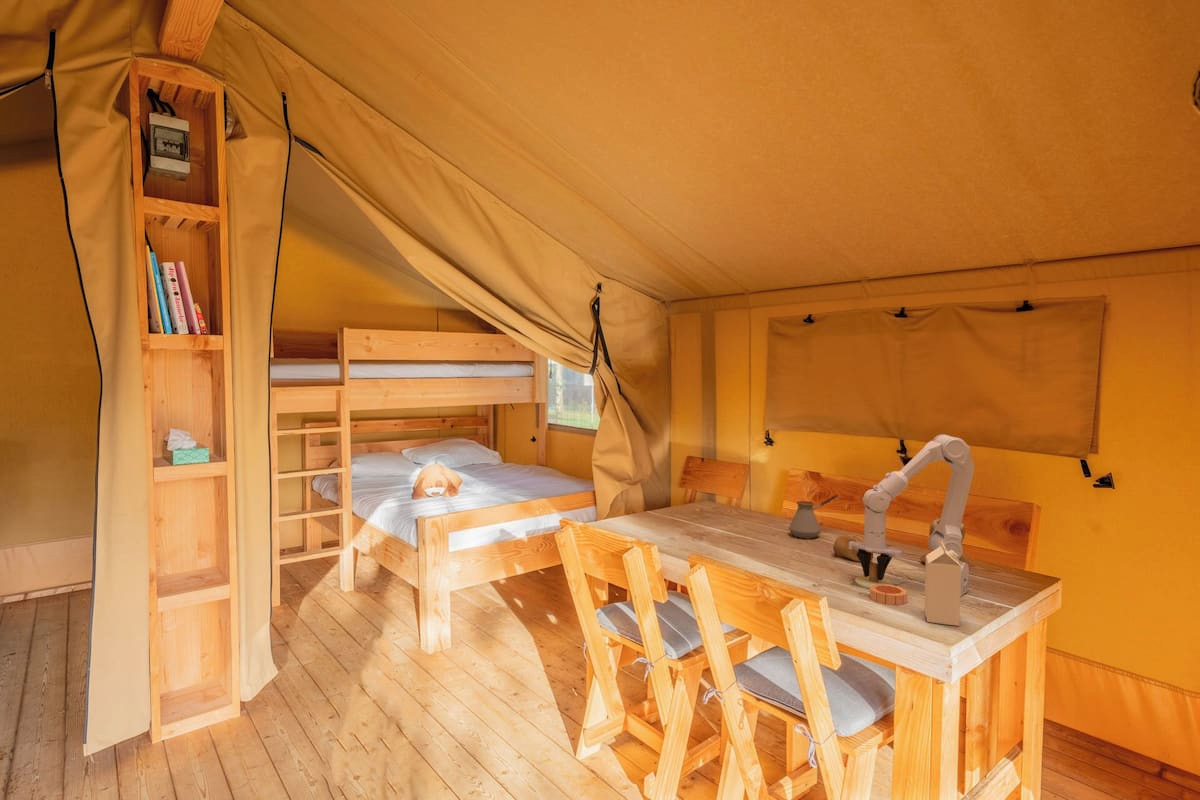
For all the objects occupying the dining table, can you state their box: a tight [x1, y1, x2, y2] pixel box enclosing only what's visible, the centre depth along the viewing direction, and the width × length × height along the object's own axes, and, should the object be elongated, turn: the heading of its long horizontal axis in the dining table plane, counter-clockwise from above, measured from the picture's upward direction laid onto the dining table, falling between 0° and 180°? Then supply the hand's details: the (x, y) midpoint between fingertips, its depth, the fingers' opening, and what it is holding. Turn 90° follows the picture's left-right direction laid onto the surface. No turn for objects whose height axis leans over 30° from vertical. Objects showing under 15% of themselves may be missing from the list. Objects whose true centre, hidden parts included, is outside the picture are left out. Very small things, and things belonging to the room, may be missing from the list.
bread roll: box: [832, 534, 874, 563], centre depth 218 cm, size 10×15×8 cm, turn 23°
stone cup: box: [919, 517, 970, 564], centre depth 211 cm, size 15×12×15 cm
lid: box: [854, 562, 894, 590], centre depth 191 cm, size 10×10×6 cm
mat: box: [849, 580, 899, 590], centre depth 191 cm, size 10×10×1 cm
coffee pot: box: [788, 494, 841, 540], centre depth 249 cm, size 21×12×15 cm, turn 110°
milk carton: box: [923, 542, 961, 627], centre depth 165 cm, size 7×7×19 cm
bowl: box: [869, 584, 908, 606], centre depth 179 cm, size 9×9×3 cm
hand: (873, 577), depth 191 cm, fingers open, 3 cm apart
